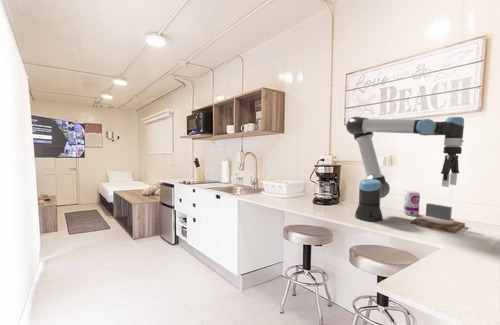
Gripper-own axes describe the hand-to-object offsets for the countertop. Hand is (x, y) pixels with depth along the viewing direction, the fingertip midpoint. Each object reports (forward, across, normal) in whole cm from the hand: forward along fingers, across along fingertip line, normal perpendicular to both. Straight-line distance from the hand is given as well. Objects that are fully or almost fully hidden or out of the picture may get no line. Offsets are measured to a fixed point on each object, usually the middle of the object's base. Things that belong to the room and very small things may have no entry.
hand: (449, 185), depth 136 cm
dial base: (+23, +2, +4) cm, 24 cm away
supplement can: (+24, +15, +22) cm, 36 cm away
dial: (+21, +1, +4) cm, 21 cm away
